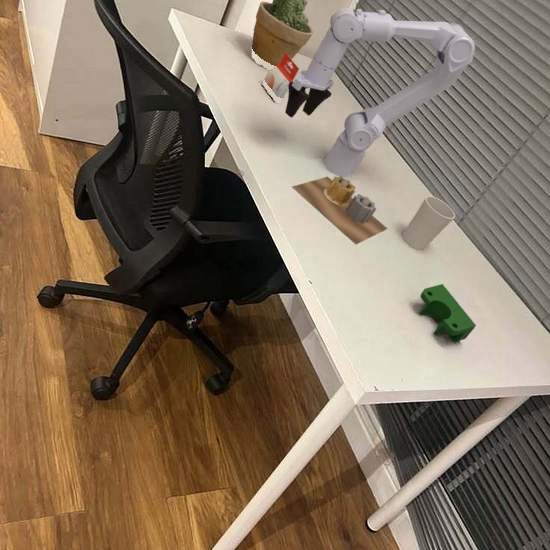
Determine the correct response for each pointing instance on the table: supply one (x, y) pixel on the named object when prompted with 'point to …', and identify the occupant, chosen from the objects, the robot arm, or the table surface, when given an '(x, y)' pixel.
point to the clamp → (446, 313)
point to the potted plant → (280, 30)
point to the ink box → (281, 76)
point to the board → (338, 210)
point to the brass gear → (340, 191)
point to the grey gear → (360, 209)
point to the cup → (427, 223)
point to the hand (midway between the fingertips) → (297, 114)
